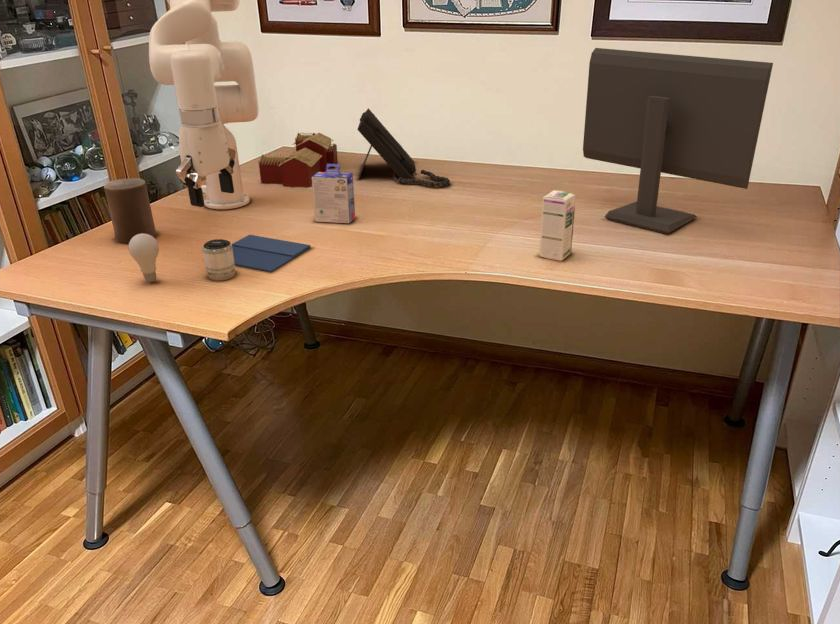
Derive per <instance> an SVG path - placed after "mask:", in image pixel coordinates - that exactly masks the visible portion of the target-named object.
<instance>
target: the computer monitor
mask: <svg viewBox="0 0 840 624" xmlns="http://www.w3.org/2000/svg"><path fill="white" fill-rule="evenodd" d="M773 66H774V62H766V61H758V60H757V61H755V60H746V59H745V60H743V59H733V58H719V57H708V56H696V55H685V54H675V53H674V54H673V53H662V52H649V51H637V50H626V49H615V48H603V47H602V48H601V47H595V48H594V49H593V50H592V52H591V55H590V58H589V65H588V77H587V91H586V104H585V117H584V127H583V129H584V130H583V142H582V154H583V155H582V156H583V157H584V158H585V159H589V160H594V161H599V162H604V163H610V164H614V165H620V166H626V167H629V168H635V169H640V171H639V178H638V179H639V180H638V187H637V188H638V189H637V199H636V201H634V202H631V203H628V204H624V205H623V206H620V207H616V208H614V209H611V210H609V211H608V212H607V213H606V214H605V215H604V217H605V218H606V219H607V220H609V221H613V222H616V223H621V224H625V225H629V226H633V227H637V228H642V229H645V230H649V231H653V232H657V233H662V234H665V235H668V234H670V233H671V232H673V231H675V230H677V229H679V228H680V227H683V226H684V225H686V224H687V223H689V222H691V221H692V220H694V219H696V218H698V216H697V215H696V214H695V213H694V214H693V213H690V212H685V211H681V210H677V209H673V208H668V207H663V206H659V205H658V198H659V191H660V182H661V174H668V175H672V176H677V177H683V178H688V179H692V180H698V181H702V182H703V181H704V182H709V183H713V184H719V185H724V186H730V187H734V188H739V189H740V188H741V189H744V190H748V187H749V183H750V178H751V173H752V169H753V163H754V159H755V153H756V148H757V144H758V139H759V134H760V131H761V124H762V120H763V114H764V110H765V105H766V101H767V95H768V90H769V84H770V80H771V76H772V71H773Z"/></svg>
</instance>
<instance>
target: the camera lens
mask: <svg viewBox="0 0 840 624" xmlns="http://www.w3.org/2000/svg"><path fill="white" fill-rule="evenodd" d="M232 244H233V243H231V242H230V241H229V240H228V239H219V238H218V239H217V238H216V239H215V238H214V239H210V240H208V241H207V242H205V243H204V244H203V245H202V246H201V247H202V254H203V260H204V266H205V271H206V273H207V275H208V278H209V279H210V280H212V281H216V282H217V281H219V282H220V281H221V282H222V281H226V280H230V279H232V278H234V276H236V265H235V263H234V256H233V249H232Z"/></svg>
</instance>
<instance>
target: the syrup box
mask: <svg viewBox="0 0 840 624" xmlns="http://www.w3.org/2000/svg"><path fill="white" fill-rule="evenodd" d="M576 197H577V193H574V192H571V191H567V190H554V189H553V190H552V191H551V192H549V193H548V194H546V195H545V196H543V197H542V205H541V207H542V208H541V220H540V221H541V223H540V239H539V241H540V242H539V257H541V258H544V259H548V260H554V261H559V262H563V260H565V259H566V258H567V257H568V256H569V255H570V254H572V250H573V249H572V248H573V237H574V236H573V235H574V222H575V212H576V211H575V210H576V200H577V199H576Z"/></svg>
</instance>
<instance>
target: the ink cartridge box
mask: <svg viewBox="0 0 840 624" xmlns="http://www.w3.org/2000/svg"><path fill="white" fill-rule="evenodd" d="M333 166H334V167H335V169H330V168H329V167H333ZM340 171H341V164H340V163H338V164H327V167H326V172H317V173H316V174H315V175H314V176H312V185H311V187H312V198H313V199H312V200H313V209H314V211H313V212H314V222H317V223H318V222H319V223H335V224H336V223H338V224H350V223H352V221H354V220H355V219H356V206H355V205H356V204H355V189H354V187H355V186H354V173H353V172H342V171H341V172H340Z"/></svg>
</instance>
